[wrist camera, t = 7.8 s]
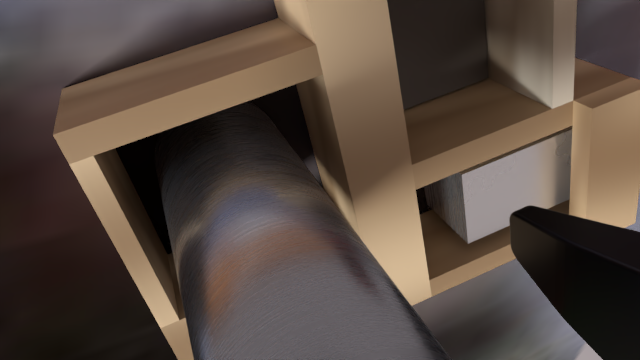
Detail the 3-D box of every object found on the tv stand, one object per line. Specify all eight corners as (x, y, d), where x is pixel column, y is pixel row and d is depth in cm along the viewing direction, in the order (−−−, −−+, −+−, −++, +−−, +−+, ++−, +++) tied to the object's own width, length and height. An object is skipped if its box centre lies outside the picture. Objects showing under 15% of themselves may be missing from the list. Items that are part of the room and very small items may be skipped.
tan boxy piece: (506, 70, 17) (573, 100, 15) (365, 123, 17) (411, 165, 14) (500, -97, 15) (580, -95, 12) (331, -45, 14) (382, -32, 11)
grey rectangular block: (568, 144, 20) (625, 174, 18) (426, 203, 19) (467, 243, 17) (570, 79, 18) (632, 104, 16) (417, 139, 17) (461, 174, 15)
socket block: (555, 173, 20) (635, 222, 17) (187, 329, 18) (205, 421, 15) (560, -116, 15) (676, -118, 12) (40, 46, 13) (19, 95, 9)
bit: (292, 184, 17) (504, 503, 8) (181, 228, 16) (278, 627, 7) (261, 77, 15) (493, 342, 6) (133, 122, 14) (185, 491, 5)
